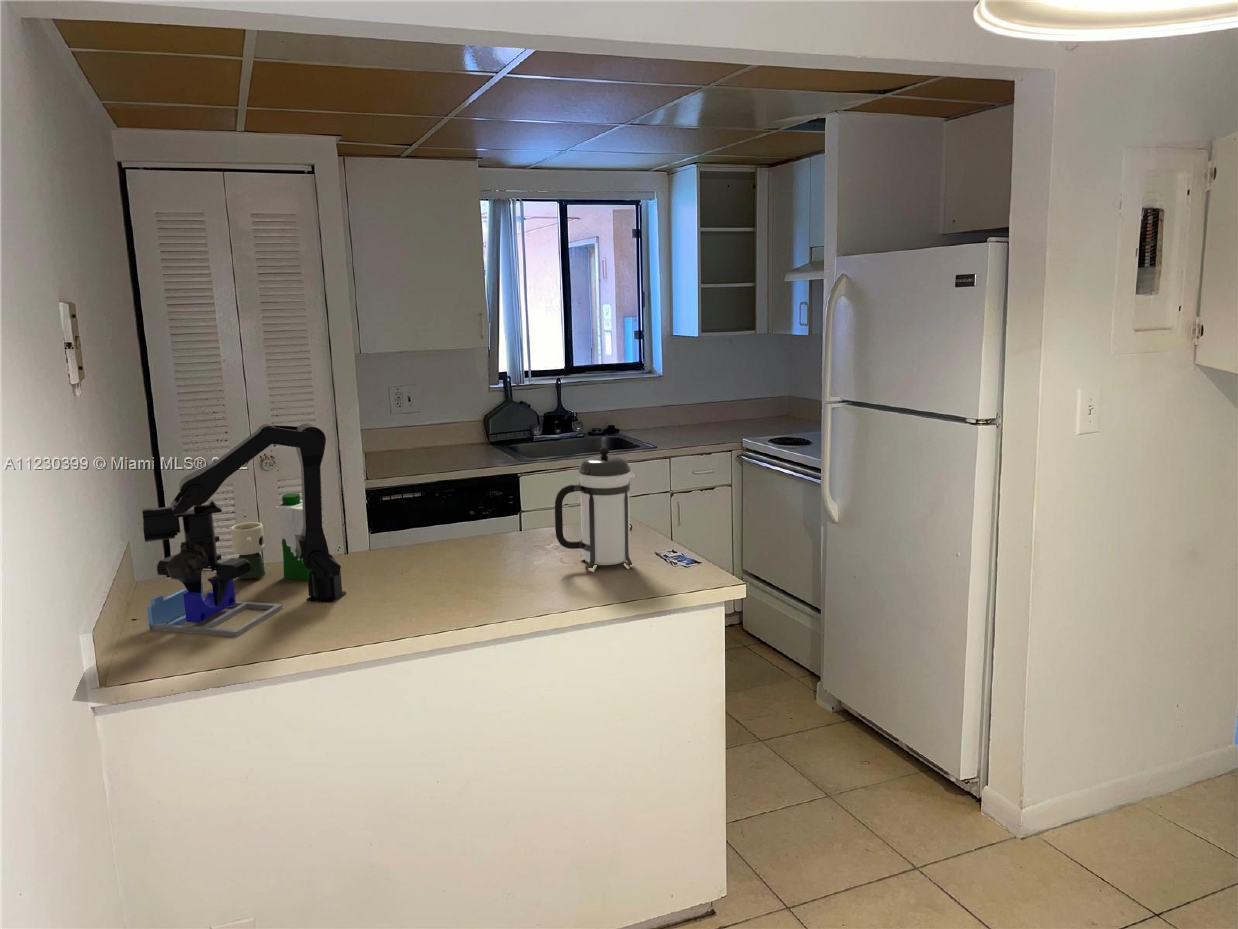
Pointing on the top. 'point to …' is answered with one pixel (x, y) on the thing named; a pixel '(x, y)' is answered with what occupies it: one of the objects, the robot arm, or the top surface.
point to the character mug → (249, 547)
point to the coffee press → (600, 510)
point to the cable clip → (206, 604)
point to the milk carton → (291, 535)
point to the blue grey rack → (175, 607)
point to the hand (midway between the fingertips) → (207, 605)
